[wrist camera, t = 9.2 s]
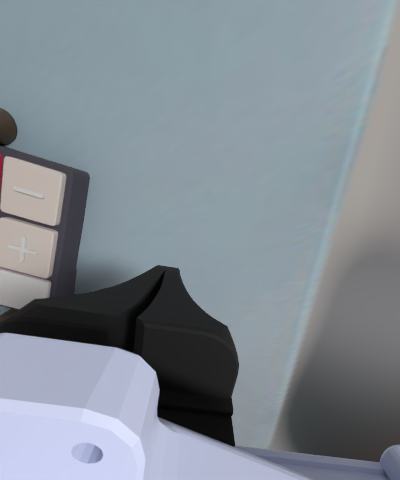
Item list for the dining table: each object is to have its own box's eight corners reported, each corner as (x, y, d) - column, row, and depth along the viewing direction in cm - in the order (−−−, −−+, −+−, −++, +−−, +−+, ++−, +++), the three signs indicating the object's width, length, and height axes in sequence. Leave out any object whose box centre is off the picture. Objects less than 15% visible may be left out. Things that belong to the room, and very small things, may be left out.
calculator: (67, 168, 15) (45, 323, 18) (95, 174, 20) (73, 300, 23) (-76, 123, 15) (-75, 294, 18) (-15, 140, 19) (-23, 275, 22)
